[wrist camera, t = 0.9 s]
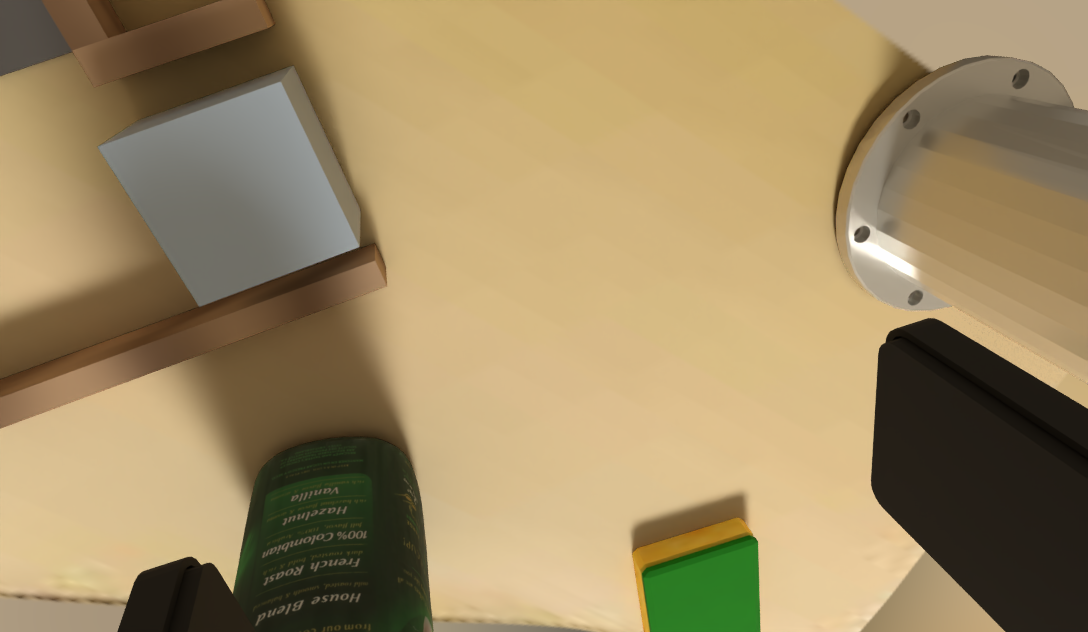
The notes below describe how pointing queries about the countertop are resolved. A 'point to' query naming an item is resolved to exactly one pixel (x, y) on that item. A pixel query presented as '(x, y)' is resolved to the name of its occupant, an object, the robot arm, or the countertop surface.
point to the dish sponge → (700, 581)
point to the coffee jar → (335, 542)
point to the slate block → (238, 185)
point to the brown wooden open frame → (107, 55)
